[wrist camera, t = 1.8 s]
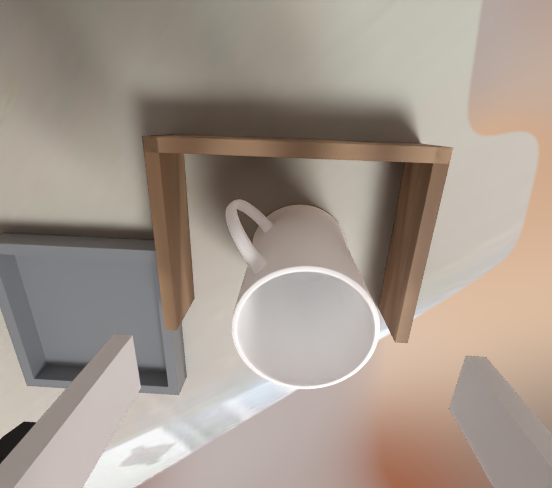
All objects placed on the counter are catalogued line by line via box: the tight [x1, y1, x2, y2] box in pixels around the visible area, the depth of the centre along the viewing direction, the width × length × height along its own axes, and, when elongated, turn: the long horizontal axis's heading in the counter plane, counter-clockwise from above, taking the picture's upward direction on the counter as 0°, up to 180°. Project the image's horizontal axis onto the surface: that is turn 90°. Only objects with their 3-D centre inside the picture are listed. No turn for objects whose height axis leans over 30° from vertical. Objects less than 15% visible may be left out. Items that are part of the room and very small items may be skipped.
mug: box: [225, 199, 380, 389], centre depth 22 cm, size 12×8×12 cm
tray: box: [0, 233, 187, 395], centre depth 30 cm, size 16×16×2 cm
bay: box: [142, 134, 453, 343], centre depth 25 cm, size 20×15×5 cm
